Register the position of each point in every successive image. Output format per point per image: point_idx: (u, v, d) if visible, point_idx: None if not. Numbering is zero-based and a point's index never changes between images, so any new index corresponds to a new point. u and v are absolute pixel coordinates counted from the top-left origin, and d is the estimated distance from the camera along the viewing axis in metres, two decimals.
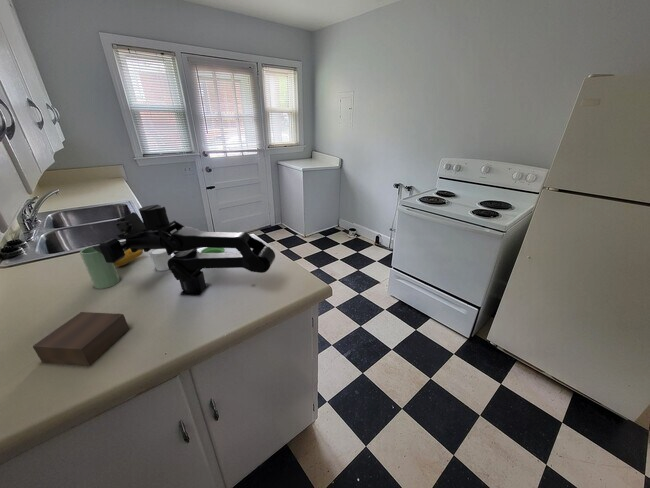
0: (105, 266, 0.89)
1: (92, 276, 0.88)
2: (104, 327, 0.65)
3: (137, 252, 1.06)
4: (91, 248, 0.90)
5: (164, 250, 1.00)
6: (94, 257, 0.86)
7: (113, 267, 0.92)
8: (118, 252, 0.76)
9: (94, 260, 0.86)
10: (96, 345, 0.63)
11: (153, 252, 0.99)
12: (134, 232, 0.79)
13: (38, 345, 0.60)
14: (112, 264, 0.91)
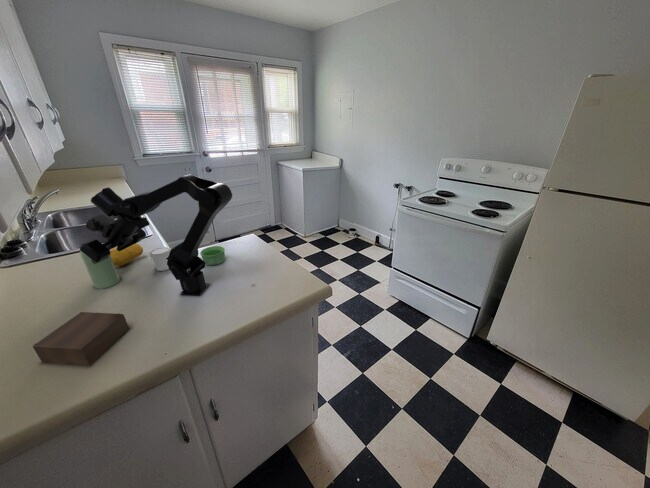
0: (105, 266, 0.89)
1: (92, 276, 0.88)
2: (104, 327, 0.65)
3: (137, 252, 1.06)
4: None
5: (164, 250, 1.00)
6: None
7: (113, 267, 0.92)
8: (99, 248, 0.78)
9: None
10: (96, 345, 0.63)
11: (153, 252, 0.99)
12: (106, 227, 0.81)
13: (38, 345, 0.60)
14: (112, 264, 0.91)
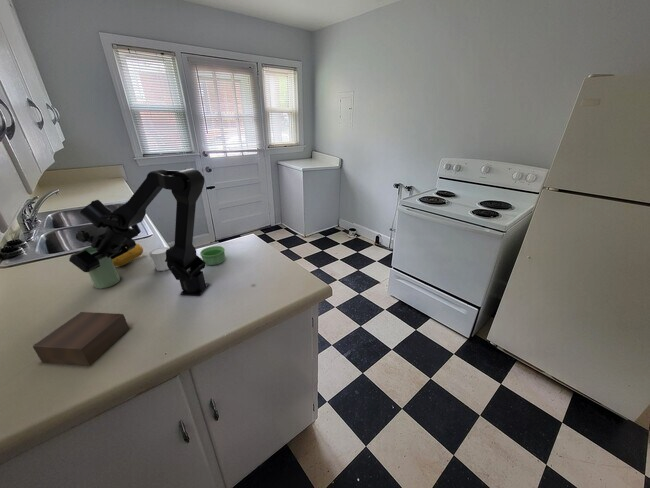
0: (104, 266, 0.88)
1: (92, 276, 0.88)
2: (104, 327, 0.65)
3: (137, 252, 1.06)
4: (90, 248, 0.90)
5: (164, 250, 1.00)
6: None
7: (113, 267, 0.91)
8: (88, 259, 0.80)
9: None
10: (96, 345, 0.63)
11: (153, 252, 0.99)
12: (95, 238, 0.83)
13: (38, 345, 0.60)
14: (112, 264, 0.91)
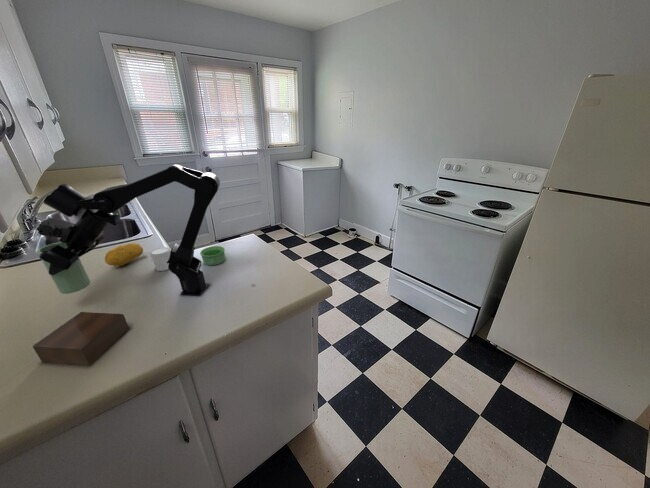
0: (75, 265, 0.75)
1: (59, 279, 0.73)
2: (104, 327, 0.65)
3: (137, 252, 1.06)
4: (48, 247, 0.74)
5: (164, 250, 1.00)
6: None
7: (82, 266, 0.78)
8: (66, 253, 0.68)
9: None
10: (96, 345, 0.63)
11: (153, 252, 0.99)
12: (65, 230, 0.70)
13: (38, 345, 0.60)
14: (81, 262, 0.78)
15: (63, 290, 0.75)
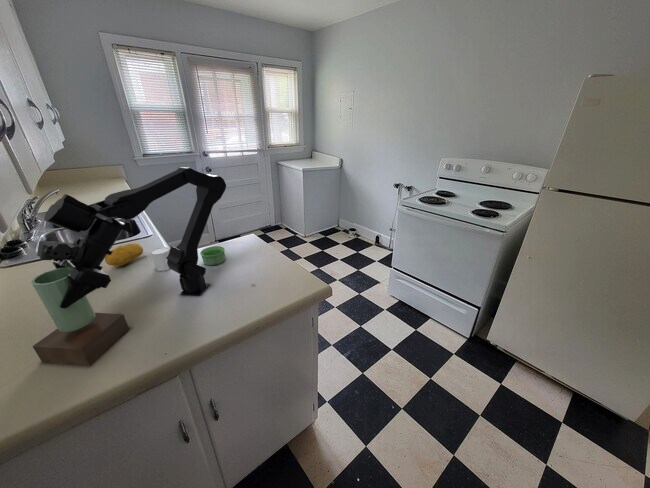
0: None
1: (72, 312, 0.61)
2: (104, 327, 0.65)
3: (137, 252, 1.06)
4: (36, 281, 0.58)
5: (164, 250, 1.00)
6: None
7: None
8: (98, 271, 0.60)
9: None
10: (96, 345, 0.63)
11: (153, 252, 0.99)
12: (77, 248, 0.60)
13: (38, 345, 0.60)
14: None
15: (75, 325, 0.62)
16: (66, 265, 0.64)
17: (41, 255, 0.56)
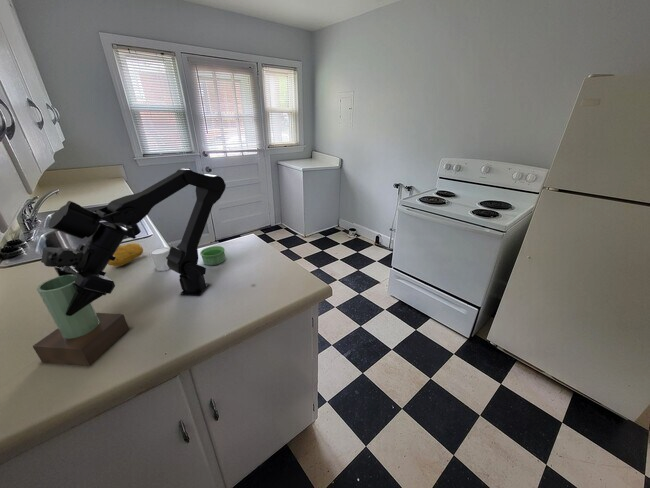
0: None
1: (77, 318, 0.61)
2: (104, 327, 0.65)
3: (137, 252, 1.06)
4: (42, 288, 0.59)
5: (164, 250, 1.00)
6: None
7: None
8: (102, 277, 0.60)
9: None
10: (96, 345, 0.63)
11: (153, 252, 0.99)
12: (81, 254, 0.60)
13: (38, 345, 0.60)
14: None
15: (80, 331, 0.62)
16: (68, 270, 0.65)
17: (46, 262, 0.56)
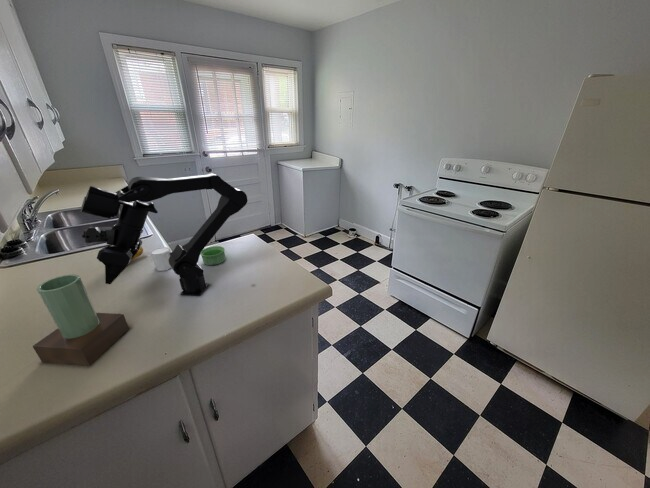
0: (88, 297, 0.64)
1: (77, 318, 0.61)
2: (104, 327, 0.65)
3: (137, 252, 1.06)
4: (42, 288, 0.59)
5: (164, 250, 1.00)
6: (79, 287, 0.61)
7: None
8: (120, 250, 0.66)
9: (79, 291, 0.61)
10: (96, 345, 0.63)
11: (153, 252, 0.99)
12: (109, 231, 0.68)
13: (38, 345, 0.60)
14: None
15: (80, 331, 0.62)
16: None
17: (85, 239, 0.67)
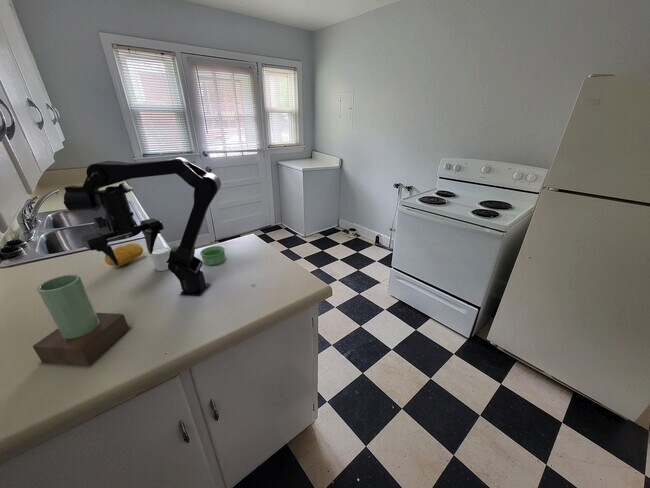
0: (88, 297, 0.64)
1: (77, 318, 0.61)
2: (104, 327, 0.65)
3: (137, 252, 1.06)
4: (42, 288, 0.59)
5: (164, 250, 1.00)
6: (79, 287, 0.61)
7: None
8: (94, 236, 0.71)
9: (79, 291, 0.61)
10: (96, 345, 0.63)
11: (153, 252, 0.99)
12: (106, 219, 0.76)
13: (38, 345, 0.60)
14: None
15: (80, 331, 0.62)
16: (145, 230, 0.82)
17: None
